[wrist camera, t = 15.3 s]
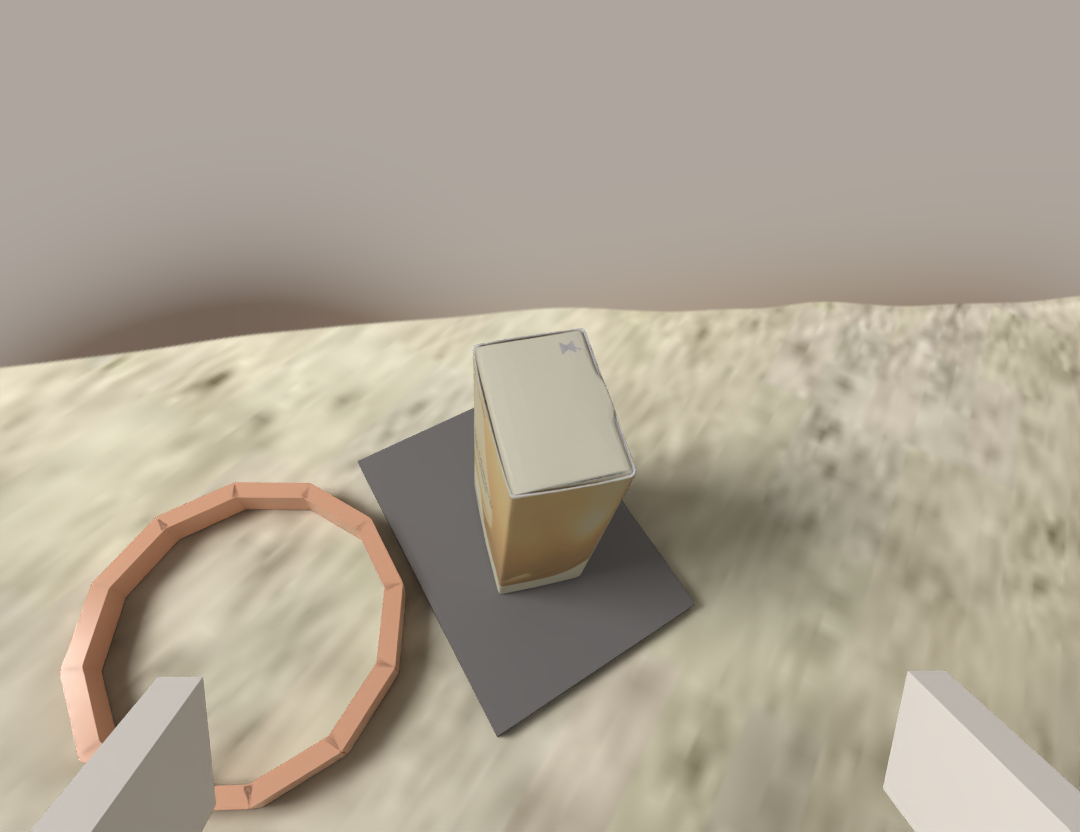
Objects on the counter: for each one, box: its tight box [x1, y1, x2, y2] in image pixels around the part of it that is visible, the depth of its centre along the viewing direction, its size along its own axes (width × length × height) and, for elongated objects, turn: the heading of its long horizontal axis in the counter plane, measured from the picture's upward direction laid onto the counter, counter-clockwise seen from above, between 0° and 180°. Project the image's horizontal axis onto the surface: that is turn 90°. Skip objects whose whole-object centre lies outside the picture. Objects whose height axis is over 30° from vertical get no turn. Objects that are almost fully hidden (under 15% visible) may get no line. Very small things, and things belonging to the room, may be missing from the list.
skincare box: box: [473, 328, 636, 594], centre depth 25 cm, size 6×4×12 cm
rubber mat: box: [358, 408, 695, 737], centre depth 31 cm, size 11×15×1 cm
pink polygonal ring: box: [60, 482, 406, 810], centre depth 27 cm, size 14×14×2 cm
